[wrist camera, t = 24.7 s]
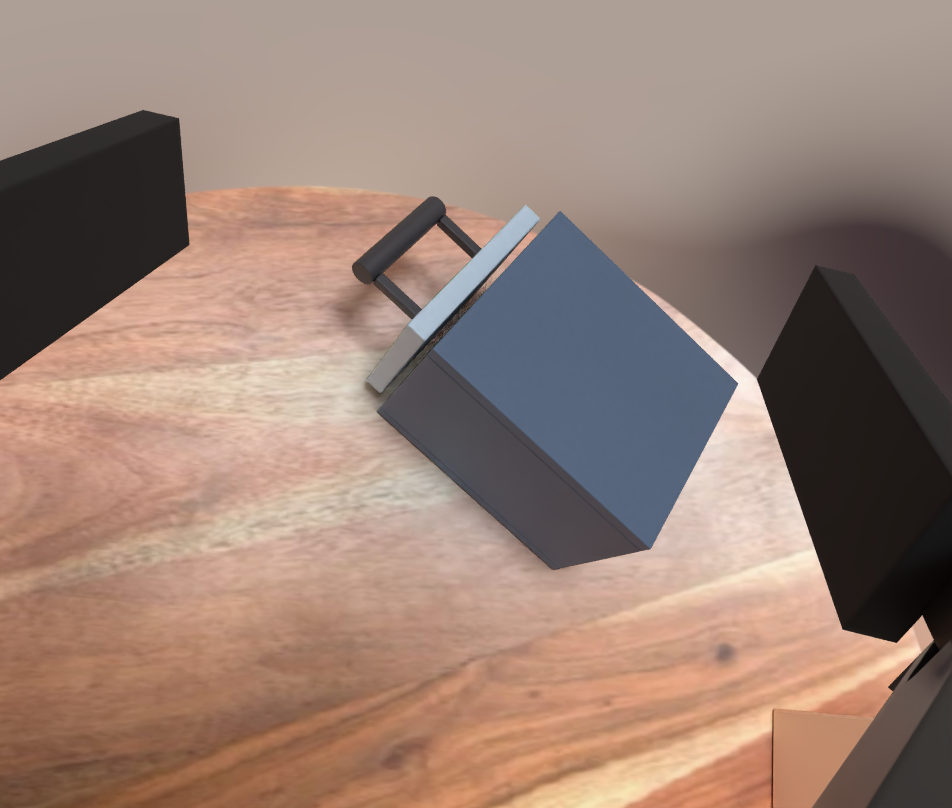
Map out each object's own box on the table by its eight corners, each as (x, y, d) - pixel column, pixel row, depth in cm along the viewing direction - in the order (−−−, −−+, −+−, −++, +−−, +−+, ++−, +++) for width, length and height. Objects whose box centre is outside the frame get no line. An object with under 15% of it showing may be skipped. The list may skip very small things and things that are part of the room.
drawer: (307, 328, 39) (337, 260, 32) (422, 224, 44) (468, 148, 38) (532, 530, 40) (605, 506, 34) (614, 405, 46) (691, 363, 40)
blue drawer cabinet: (376, 411, 40) (432, 348, 32) (489, 289, 46) (560, 210, 38) (553, 570, 41) (651, 549, 33) (638, 430, 48) (738, 383, 39)
